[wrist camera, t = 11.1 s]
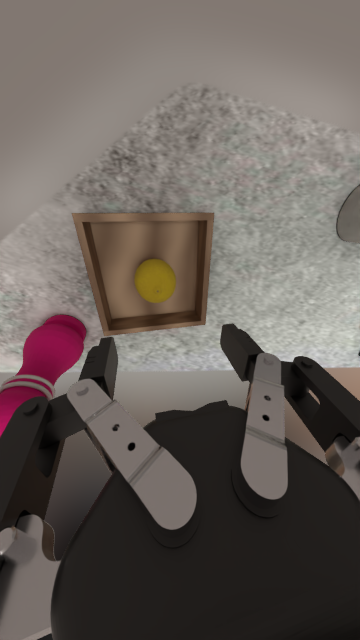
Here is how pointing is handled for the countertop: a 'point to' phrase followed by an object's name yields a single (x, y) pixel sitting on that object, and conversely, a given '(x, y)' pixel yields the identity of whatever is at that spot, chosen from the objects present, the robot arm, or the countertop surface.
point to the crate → (132, 250)
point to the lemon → (155, 280)
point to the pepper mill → (42, 363)
